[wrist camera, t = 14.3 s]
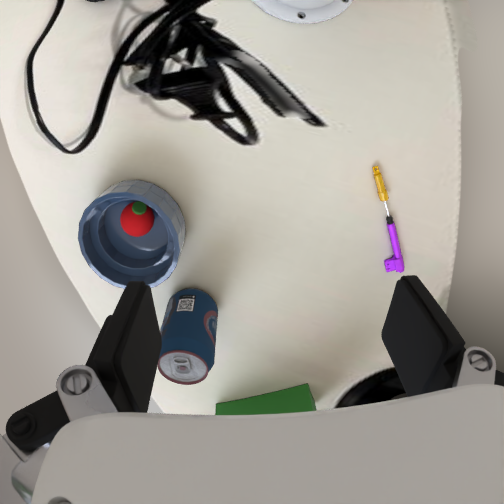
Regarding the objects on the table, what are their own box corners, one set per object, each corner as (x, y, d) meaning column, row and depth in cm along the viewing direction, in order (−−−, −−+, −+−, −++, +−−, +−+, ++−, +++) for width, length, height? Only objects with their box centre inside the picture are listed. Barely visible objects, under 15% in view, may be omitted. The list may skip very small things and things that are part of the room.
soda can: (220, 322, 46) (216, 388, 35) (173, 323, 46) (159, 387, 35) (216, 283, 42) (209, 348, 32) (165, 284, 42) (145, 347, 32)
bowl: (87, 182, 35) (69, 196, 30) (182, 176, 35) (173, 189, 31) (104, 268, 41) (91, 289, 36) (190, 268, 41) (184, 290, 37)
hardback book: (230, 422, 59) (230, 528, 38) (216, 404, 56) (212, 520, 35) (314, 403, 57) (335, 513, 36) (307, 383, 53) (330, 505, 32)
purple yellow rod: (404, 267, 42) (378, 163, 35) (405, 272, 41) (380, 166, 34) (386, 272, 43) (358, 169, 36) (388, 277, 42) (359, 173, 35)
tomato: (119, 215, 36) (121, 192, 33) (150, 215, 38) (156, 193, 35) (119, 243, 35) (121, 221, 31) (152, 243, 36) (158, 222, 33)
